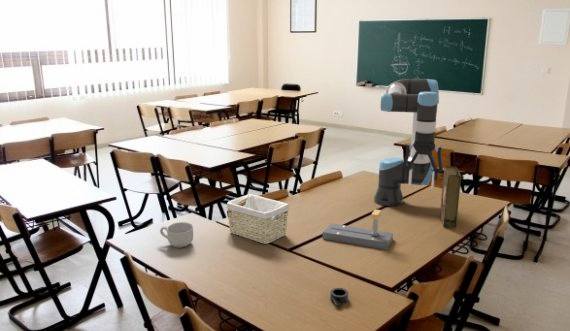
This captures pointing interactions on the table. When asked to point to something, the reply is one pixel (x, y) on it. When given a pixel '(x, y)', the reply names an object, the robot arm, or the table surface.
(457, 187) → the book
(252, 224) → the storage basket
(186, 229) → the teacup
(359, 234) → the fader console
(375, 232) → the fader knob
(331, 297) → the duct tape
